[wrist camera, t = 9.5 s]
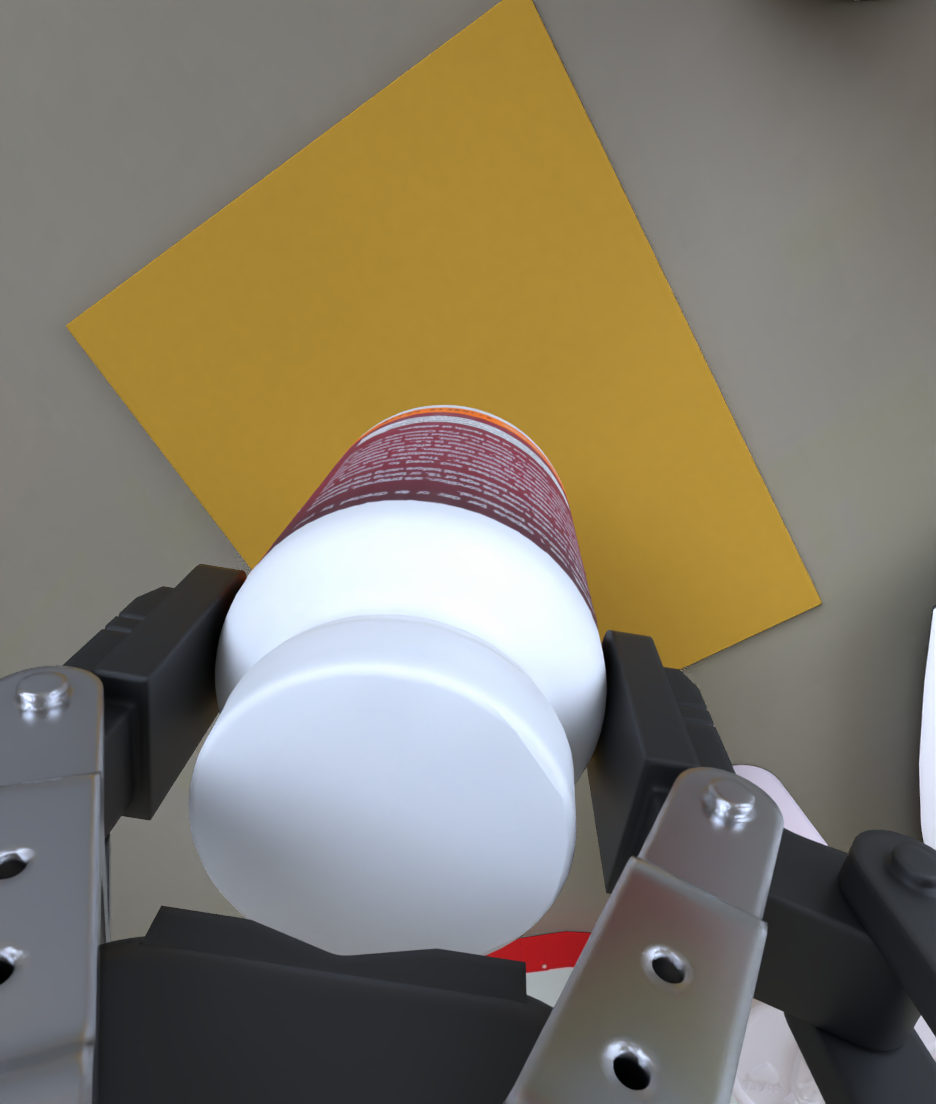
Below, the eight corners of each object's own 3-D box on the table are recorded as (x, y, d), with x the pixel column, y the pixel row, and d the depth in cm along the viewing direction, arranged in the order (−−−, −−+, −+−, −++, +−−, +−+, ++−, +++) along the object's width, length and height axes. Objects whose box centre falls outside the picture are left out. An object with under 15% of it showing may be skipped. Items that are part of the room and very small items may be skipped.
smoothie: (859, 777, 27) (1182, 1252, 14) (759, 890, 29) (958, 1390, 16) (711, 708, 26) (909, 1146, 13) (620, 831, 29) (714, 1306, 16)
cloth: (70, 325, 22) (64, 325, 22) (523, -13, 19) (523, -17, 18) (420, 785, 28) (419, 790, 28) (819, 599, 25) (822, 603, 24)
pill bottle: (297, 429, 18) (25, 653, 8) (543, 374, 17) (595, 542, 7) (367, 646, 20) (225, 1039, 10) (587, 605, 19) (676, 986, 9)
